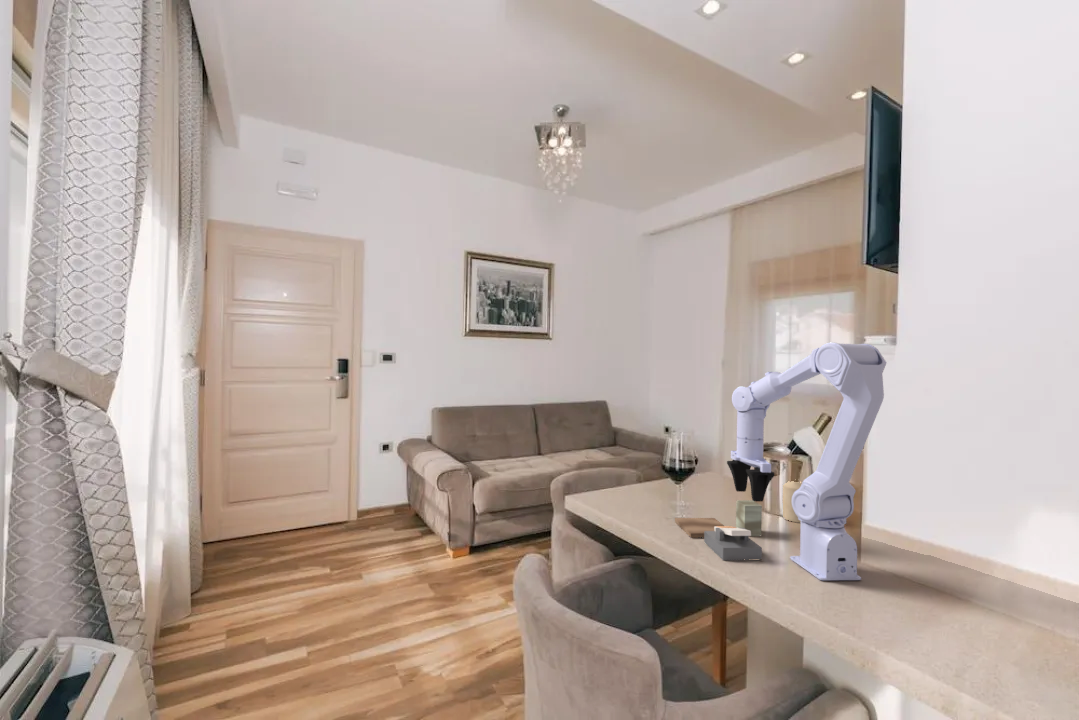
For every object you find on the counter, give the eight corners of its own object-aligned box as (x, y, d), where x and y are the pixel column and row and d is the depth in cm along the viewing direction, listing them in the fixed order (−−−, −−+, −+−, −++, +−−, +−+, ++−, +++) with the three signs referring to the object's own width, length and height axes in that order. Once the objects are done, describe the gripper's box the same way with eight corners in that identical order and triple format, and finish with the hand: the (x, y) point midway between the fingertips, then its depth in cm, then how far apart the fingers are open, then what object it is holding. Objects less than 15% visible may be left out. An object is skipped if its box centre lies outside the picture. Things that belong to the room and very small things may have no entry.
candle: (805, 524, 112) (806, 484, 112) (780, 519, 115) (781, 480, 115) (808, 518, 116) (808, 480, 116) (784, 514, 119) (784, 476, 119)
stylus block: (761, 536, 104) (761, 505, 104) (744, 536, 103) (744, 505, 103) (752, 529, 108) (752, 500, 108) (735, 529, 107) (736, 500, 107)
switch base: (761, 560, 91) (762, 537, 91) (723, 560, 90) (723, 537, 90) (739, 542, 100) (739, 521, 100) (704, 542, 99) (704, 521, 99)
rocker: (751, 535, 91) (750, 530, 92) (731, 535, 91) (731, 530, 91) (732, 531, 99) (731, 526, 99) (714, 531, 99) (714, 526, 99)
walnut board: (733, 537, 102) (733, 533, 102) (690, 537, 102) (690, 533, 102) (714, 522, 112) (714, 518, 112) (675, 522, 112) (675, 518, 112)
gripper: (719, 432, 113) (718, 487, 113) (749, 443, 98) (748, 505, 98) (746, 433, 113) (745, 487, 113) (780, 443, 99) (779, 505, 99)
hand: (748, 495), depth 106 cm, fingers open, 7 cm apart
